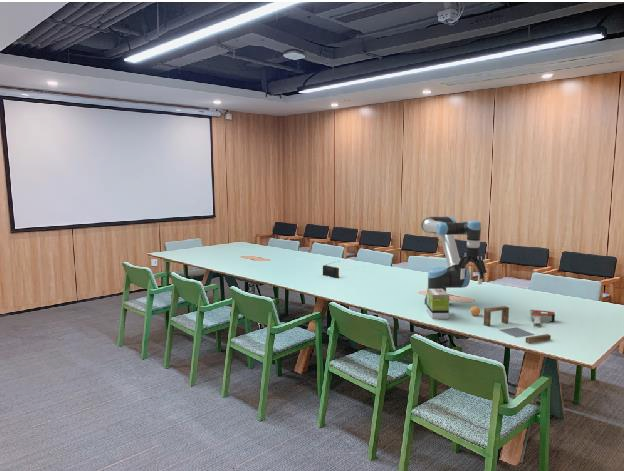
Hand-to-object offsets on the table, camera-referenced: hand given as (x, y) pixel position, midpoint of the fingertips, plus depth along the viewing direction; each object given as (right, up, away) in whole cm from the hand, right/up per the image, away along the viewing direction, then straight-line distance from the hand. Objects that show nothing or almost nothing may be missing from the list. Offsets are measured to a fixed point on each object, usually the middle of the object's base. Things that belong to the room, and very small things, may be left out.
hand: (470, 281), depth 269 cm
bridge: (+7, -22, -20) cm, 30 cm away
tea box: (-21, -20, -4) cm, 30 cm away
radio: (-80, -7, +105) cm, 132 cm away
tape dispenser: (+33, -22, -16) cm, 43 cm away
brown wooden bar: (+17, -25, -47) cm, 56 cm away
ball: (+1, -17, -5) cm, 18 cm away
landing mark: (+12, -23, -34) cm, 43 cm away
